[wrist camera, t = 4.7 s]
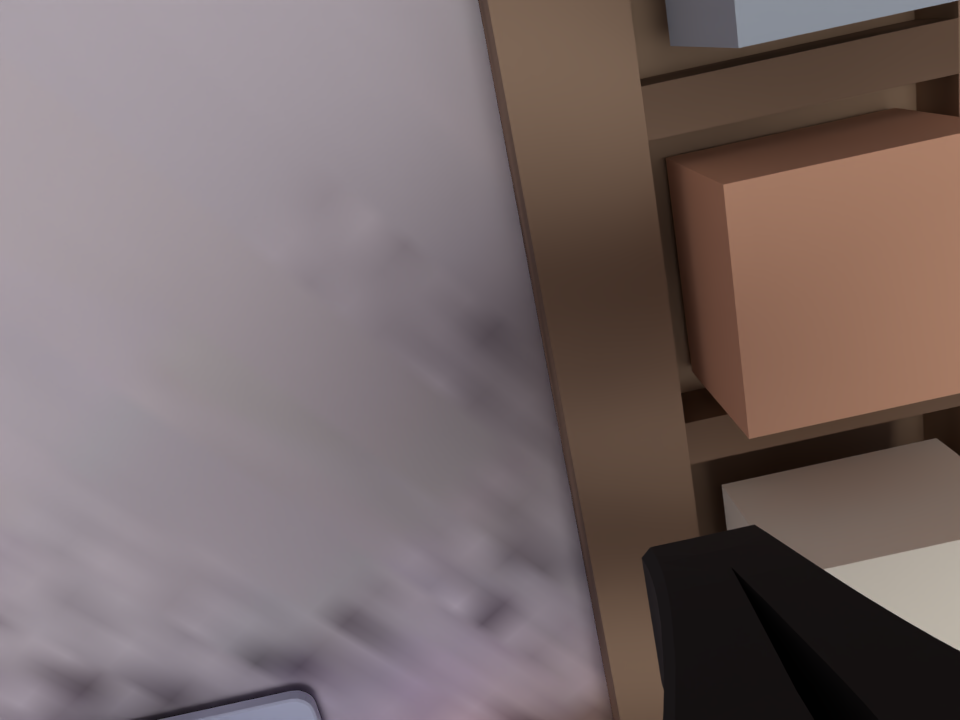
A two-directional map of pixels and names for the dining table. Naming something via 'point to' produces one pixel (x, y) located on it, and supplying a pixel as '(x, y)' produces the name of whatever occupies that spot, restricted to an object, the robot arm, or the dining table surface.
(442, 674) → the dining table surface
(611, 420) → the board
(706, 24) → the button slate
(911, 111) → the salmon brown square block
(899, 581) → the cream block
